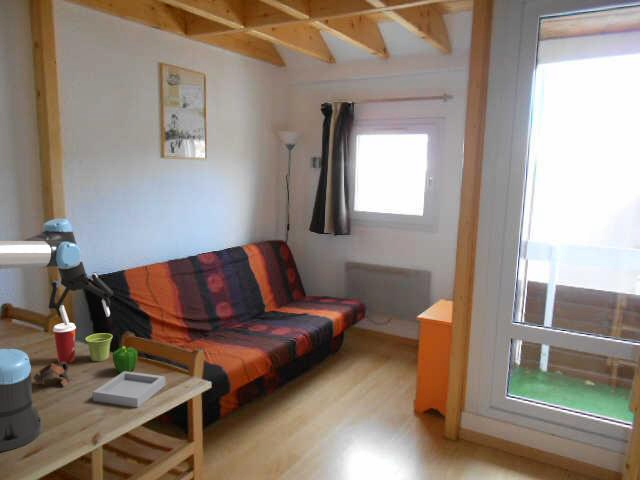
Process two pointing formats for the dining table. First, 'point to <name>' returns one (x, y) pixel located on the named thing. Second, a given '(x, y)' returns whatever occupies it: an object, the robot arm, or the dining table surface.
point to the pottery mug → (48, 373)
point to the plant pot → (99, 346)
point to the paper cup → (65, 342)
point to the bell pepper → (125, 359)
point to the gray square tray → (129, 389)
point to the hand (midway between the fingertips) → (87, 319)
